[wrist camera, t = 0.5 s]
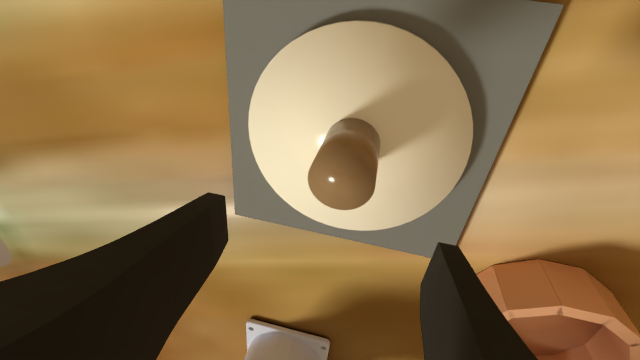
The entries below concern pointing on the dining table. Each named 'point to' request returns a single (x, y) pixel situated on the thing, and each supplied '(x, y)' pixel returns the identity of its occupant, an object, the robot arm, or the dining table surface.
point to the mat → (436, 29)
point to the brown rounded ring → (561, 311)
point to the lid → (360, 125)
